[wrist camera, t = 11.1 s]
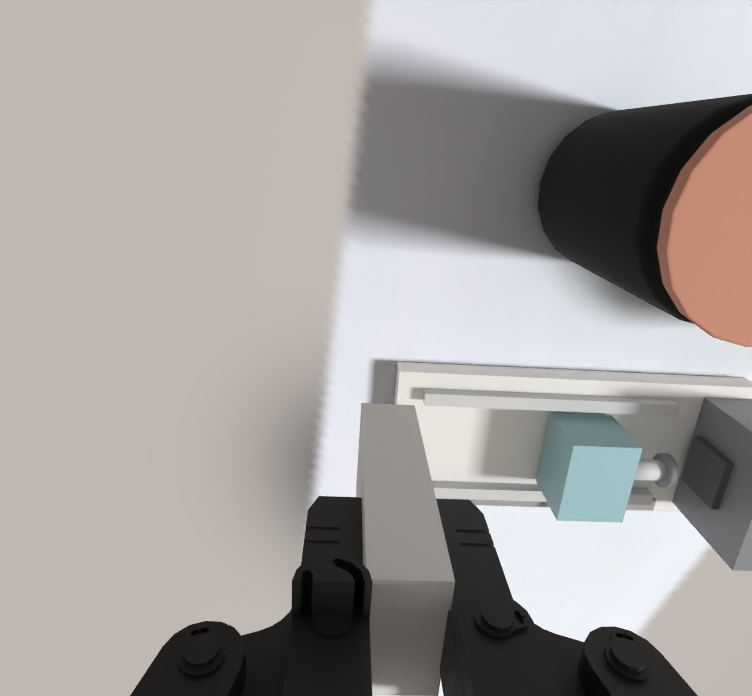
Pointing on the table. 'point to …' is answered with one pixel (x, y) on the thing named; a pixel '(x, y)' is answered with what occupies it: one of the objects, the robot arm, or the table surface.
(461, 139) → the table surface
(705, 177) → the coffee jar
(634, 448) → the gauge slider
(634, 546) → the table surface
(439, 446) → the board
